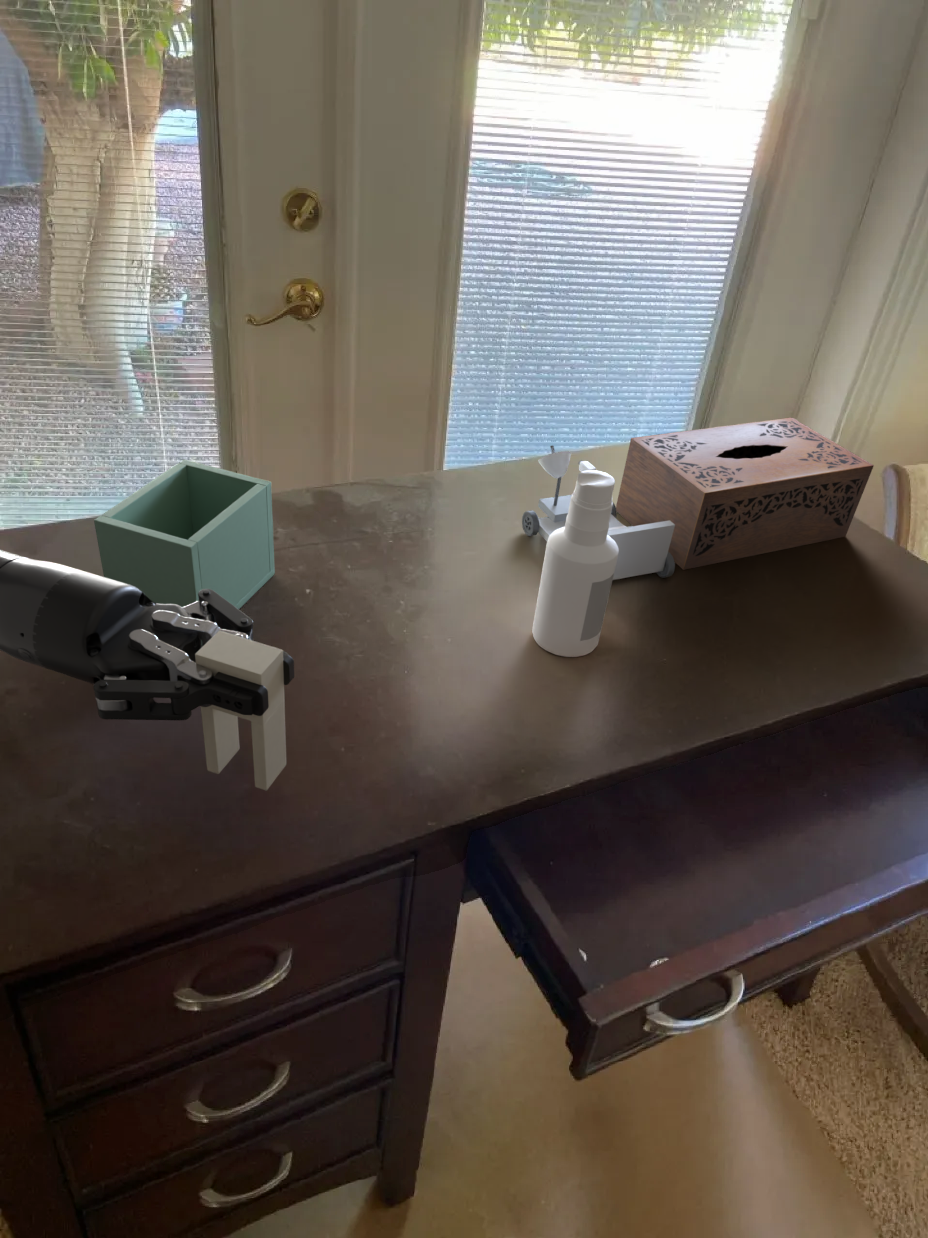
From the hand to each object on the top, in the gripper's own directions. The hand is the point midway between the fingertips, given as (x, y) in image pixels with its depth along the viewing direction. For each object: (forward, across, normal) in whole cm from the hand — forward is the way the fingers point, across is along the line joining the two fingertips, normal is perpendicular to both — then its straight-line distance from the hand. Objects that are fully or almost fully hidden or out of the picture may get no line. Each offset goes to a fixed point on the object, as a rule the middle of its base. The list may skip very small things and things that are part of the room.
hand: (278, 686), depth 61 cm
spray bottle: (+14, +32, +13) cm, 37 cm away
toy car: (+13, +50, +13) cm, 53 cm away
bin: (-22, +22, +13) cm, 34 cm away
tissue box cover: (+28, +65, +13) cm, 72 cm away
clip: (-3, 0, +9) cm, 9 cm away
